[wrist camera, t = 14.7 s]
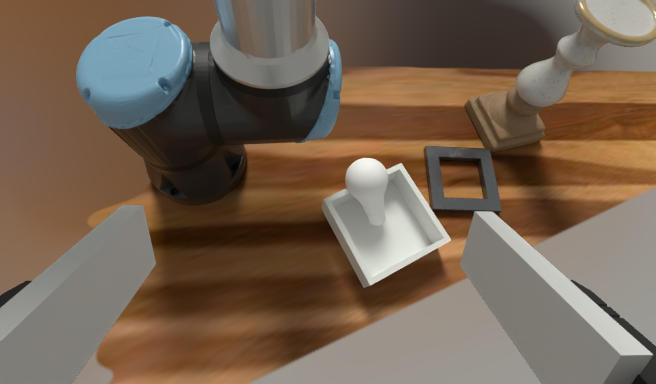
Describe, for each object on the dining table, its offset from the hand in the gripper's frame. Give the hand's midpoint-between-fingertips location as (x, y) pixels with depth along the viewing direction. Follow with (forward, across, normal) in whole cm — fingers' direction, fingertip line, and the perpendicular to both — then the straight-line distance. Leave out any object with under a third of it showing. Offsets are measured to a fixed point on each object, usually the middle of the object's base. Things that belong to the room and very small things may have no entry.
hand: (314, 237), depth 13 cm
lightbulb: (+30, +11, -18) cm, 37 cm away
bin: (+31, +12, -18) cm, 38 cm away
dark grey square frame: (+38, +26, -12) cm, 47 cm away
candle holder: (+46, +36, -4) cm, 59 cm away
